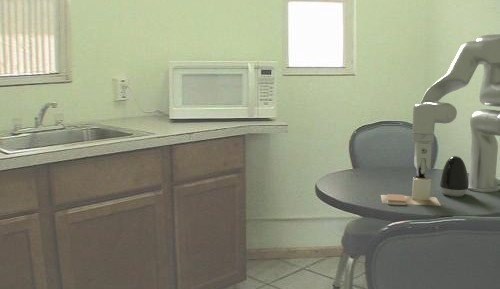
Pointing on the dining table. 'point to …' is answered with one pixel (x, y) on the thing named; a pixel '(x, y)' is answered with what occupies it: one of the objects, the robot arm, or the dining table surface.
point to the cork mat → (415, 201)
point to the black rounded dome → (454, 177)
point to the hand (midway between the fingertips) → (420, 187)
